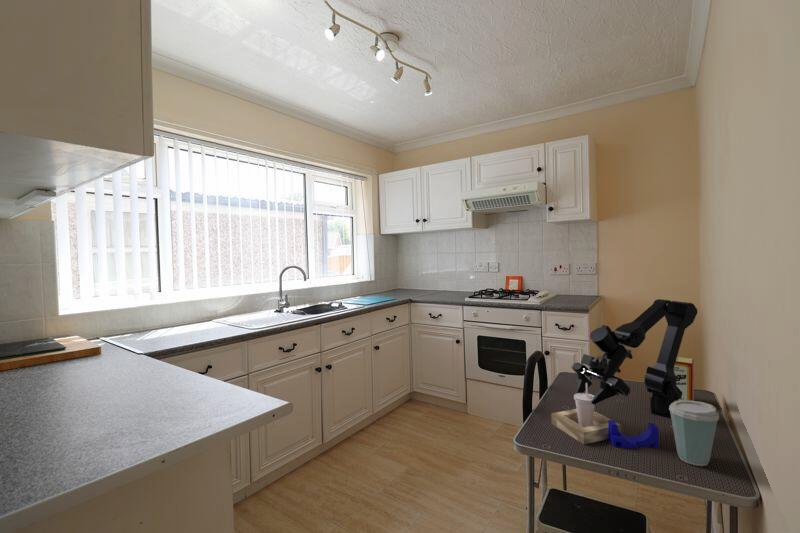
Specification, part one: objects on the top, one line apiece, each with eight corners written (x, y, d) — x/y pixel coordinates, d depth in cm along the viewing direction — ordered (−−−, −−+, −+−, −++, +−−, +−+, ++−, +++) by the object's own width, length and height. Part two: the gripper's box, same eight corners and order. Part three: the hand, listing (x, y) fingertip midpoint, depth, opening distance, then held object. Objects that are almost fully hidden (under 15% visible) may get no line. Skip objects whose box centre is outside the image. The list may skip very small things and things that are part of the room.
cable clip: (613, 447, 109) (613, 426, 108) (608, 439, 113) (608, 420, 113) (660, 451, 106) (660, 430, 106) (653, 443, 110) (653, 423, 110)
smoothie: (597, 432, 115) (596, 387, 114) (574, 429, 118) (573, 385, 117) (596, 423, 121) (595, 380, 120) (574, 420, 123) (573, 378, 123)
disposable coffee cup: (670, 464, 99) (670, 408, 99) (667, 445, 108) (667, 394, 108) (722, 475, 94) (723, 416, 93) (714, 455, 103) (715, 401, 102)
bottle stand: (586, 417, 128) (586, 406, 128) (621, 436, 114) (621, 424, 114) (551, 423, 124) (551, 413, 124) (583, 444, 110) (583, 432, 110)
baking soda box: (693, 401, 138) (693, 358, 137) (692, 407, 133) (692, 362, 132) (662, 395, 144) (662, 354, 144) (660, 400, 139) (660, 358, 139)
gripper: (575, 338, 128) (548, 375, 126) (622, 352, 110) (592, 395, 108) (594, 358, 131) (568, 394, 128) (643, 375, 113) (614, 417, 110)
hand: (584, 399), depth 119 cm, fingers closed on smoothie, 6 cm apart
